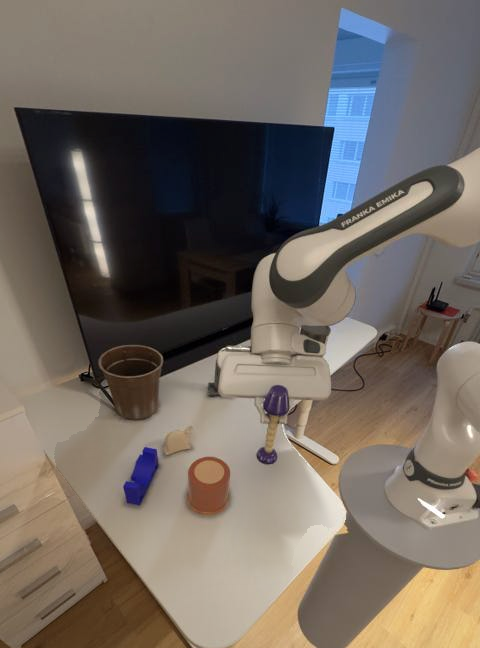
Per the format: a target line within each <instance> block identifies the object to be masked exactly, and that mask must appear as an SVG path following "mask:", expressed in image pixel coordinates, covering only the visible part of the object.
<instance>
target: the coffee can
mask: <svg viewBox="0 0 480 648" xmlns="http://www.w3.org/2000/svg"><path fill="white" fill-rule="evenodd" d="M331 331H332V329H331V327H330V326H304V325H302V326H301V327H300V334H301V335H303V336H306V337H308V338H311V339H313V340H316V341H319V342H321V343H323V344H325V346H326V347H327V344H328V340H329V337H330V334H331Z"/></svg>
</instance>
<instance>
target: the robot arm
mask: <svg viewBox="0 0 480 648" xmlns="http://www.w3.org/2000/svg"><path fill="white" fill-rule="evenodd" d="M413 235H423V236H427V237H430V238H431V239H433V240H435V241H436V242H438V243H440V244H442V245H444V246H447V247H451V248H466V247H469V246H472V245H475V244H478V243H480V146H479V147H477V148H476V149H475V150H473V151H471V152H470V153H468V154H466V155H464V156H463V157H461V158H459V159H457V160H455V161H453V162H451V163H449V164H444V165H443V164H440V165H435V166H432V167H428V168H426V169H423V170H421V171H418V172H417V173H415V174H413V175H410V176H408V177H407V178H405V179H403V180H401V181H399V182H397V183H396V184H394V185H392V186H390V187H388V188H387V189H385V190H383V191H381V192H380V193H378V194H376V195H374V196H373V197H371V198H369V199H367V200H365V201H364V202H362V203H360V204H358V205H357V206H354V208H352V209H350V210H348V211H346V212H345V213H342V214H341V215H339V216H338V217H336V218H334V219H332V220H330V221H329V222H326V223H324V224H321V225H319V226H315V227H313V228H309V229H306V230H302V231H300V232H298V233H296V234H293V235H292V236H289V238H288V239H286V240H285V241H284V242H283V243H282V244H281V245H280V246H279V247H278V249H277V250H276V252H274V253H270V254H268V255H267V256H264V257H263V258H261V260H260V261H259V262H258V264H257V265H256V267H255V271H254V273H253V279H252V287H251V307H250V308H251V312H252V319H253V321H252V324H251V327H250V345H239V346H238V345H229V344H228V345H226V346H225V347H223V348H221V349H220V350H219V351H218V352H217V354H216V359H217V365H218V367H219V369H220V370H221V371H220V377H219V386H218V393H219V394H220V395H219V396H220V397H222V398H232V399H233V398H234V399H254V401H253V403H254V407H255V408H256V410H257V412H258V414H259V423H260V424H266V425H268V424H269V422H270V419H269V417H270V414H268V413H267V412H266V411H265V410H264V408H263V403H264V400H265V398H266V396H267V394H268V392H269V390H270V389H271V387H272V386H274V385H282V386H284V387H285V388H286V389H287V390H288V396H289V406H290V408H289V411H288V413H287V414H285V415H282V416H279V421H278V422H277V423H278V425H288V414H289V413H290V411H291V410H292V408H293V406H294V405H295V404H294V403H295V401H324V400H327V399H328V398H329V397H330V396H331V393H332V378H331V377H332V376H331V370H330V368H331V367H330V365H329V362H328V361H327V359H326V358H324V356H325V355H326V353H327V345H326V346H325V344H323V343H321V342H319V341H316V340H313V339H311V338H308V337H306V336H303V335H301V334H300V331H301V326H302V325H304V326H329V327H330V326H335V325H337V324H339V323H340V322H342V321H343V320H345V319H346V318H347V317H348V316H349V314H350V313H351V311H352V310H353V308H354V305H355V303H356V298H357V291H356V288H355V285H354V283H353V281H352V279H351V277H350V275H349V274H348V272H347V270H346V269H347V268H348V267H349V266H351V265H353V264H354V263H356V262H358V261H360V260H361V259H363V258H366V257H367V256H369V255H371V254H374V253H375V252H377V251H379V250H381V249H382V248H385V247H387V246H388V245H390V244H392V243H394V242H396V241H398V240H400V239H403V238H405V237H409V236H413ZM436 376H437V385H436V386H437V387H436V393H435V399H434V403H433V408H432V411H431V416H430V419H429V421H428V424H427V426H426V428H425V429H424V432H423V433H422V435H421V437H420V438H419V440H418V442H417V443H415V444H414V445H413V447H412V448H411V450H410V452H409V454H408V455H407V457H406V459H405V460H404V462H403V463H402V464H401V465H400V466H398V467H397V468H396V469H395V471H394V474H393V475H392V476H390V477H389V478H388V479H387V480H386V482H385V485H384V490H385V494H386V497H387V498H388V500H389V502H390V503H391V504H392V505H393V506H394V507H395V508H396V509H397V510H398V511H399V512H401V513H402V514H404V515H406V516H408V517H410V518H412V519H414V520H416V521H417V522H418V523H419V524H420V525H422V526H423V527H424V528H426V529H429V530H431V529H436V528H441V527H445V526H450V525H455V524H460V523H464V522H469V521H474V520H476V519H477V518H478V509H477V508H479V509H480V484H479V483H473V482H477V481H478V480H479V479H480V477H479V475H478V474H477V473H476V471H475V470H473V469H470V467H471V466H472V465H473V463H474V461H475V460H476V459H477V458H478V457H479V455H480V343H478V342H476V341H463V342H459V343H456V344H454V345H453V346H451V347H450V348H448V349H447V350H445V351H444V352H443V354H441V356H440V357H439V359H438V360H437V363H436ZM432 523H433V524H432Z"/></svg>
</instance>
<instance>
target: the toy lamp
mask: <svg viewBox="0 0 480 648" xmlns="http://www.w3.org/2000/svg"><path fill="white" fill-rule="evenodd" d="M262 407H263V409H264V411H265V413H268V414H270V417H269V419H270V422H269V424H267V428H266V434H265V441H264V446H262V447H260V448H259V449H257V452H256V455H255V456H256V460H257V461H258V462H259V463H261V464H263V465H265V466H271V465H274V464H275V463H276V462H277V461H278V453H277V451H276V449H275V448H274V445H275V440H276V435H277V430H278V425H279V424H278V423H277V422H278V421H279V416H282V415H285V414H287V413H288V411H289V408H290V406H289V396H288V390H287V389H286V388H285V387H284V386H282V385H274V386H272V387H271V389H270V390H269V392H268V394H267V396H266V398H265V399H264V403H263V404H262ZM289 412H290V411H289ZM288 414H289V413H288ZM288 414H287V415H288Z"/></svg>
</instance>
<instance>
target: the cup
mask: <svg viewBox="0 0 480 648" xmlns="http://www.w3.org/2000/svg"><path fill="white" fill-rule="evenodd" d="M187 475H188V477H187V479H188V481H187V484H188V491H187V495H186V497H187V504H188V505H189V507H190V508H191V510H193V511H194V512H196V513H197V514H200V515H204V516H213V515H216V514H219V513H221V512H222V511H223V510H225V508H226V507H227V506H228V504H229V501H230V492H229V491H230V490H229V489H230V480H231V469H230V467H229V465H228V464H227V462H225V461H224V460H223V459H221V458H218V457H214V456H203V457H200V458H198V459H196V460H194V461H193V462H192V463H191V464H190V466H189V467H188V470H187Z"/></svg>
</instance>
